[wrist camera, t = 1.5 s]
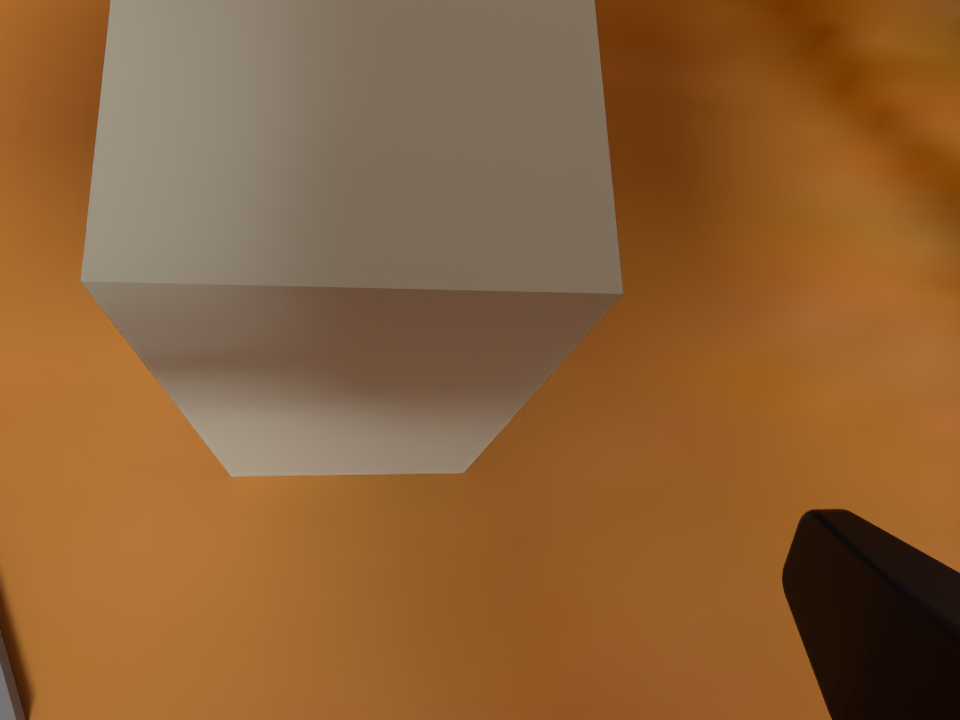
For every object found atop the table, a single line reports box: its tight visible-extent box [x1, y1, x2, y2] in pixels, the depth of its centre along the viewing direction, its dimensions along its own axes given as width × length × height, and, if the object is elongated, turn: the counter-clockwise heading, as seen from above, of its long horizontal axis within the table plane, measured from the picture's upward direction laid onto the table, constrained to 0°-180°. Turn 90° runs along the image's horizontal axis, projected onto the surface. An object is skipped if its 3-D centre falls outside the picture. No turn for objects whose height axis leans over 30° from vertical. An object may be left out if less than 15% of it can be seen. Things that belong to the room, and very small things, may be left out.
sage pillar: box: [81, 0, 623, 477], centre depth 15 cm, size 6×6×12 cm
